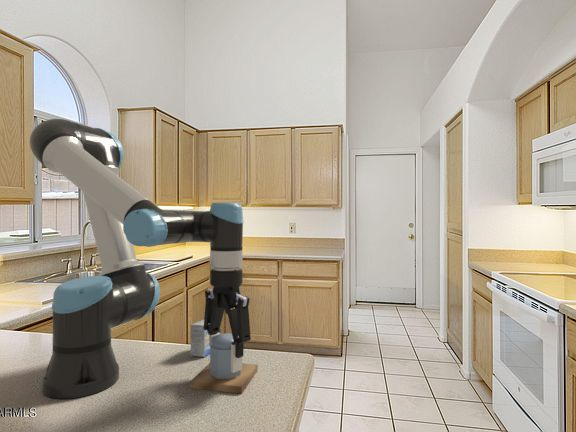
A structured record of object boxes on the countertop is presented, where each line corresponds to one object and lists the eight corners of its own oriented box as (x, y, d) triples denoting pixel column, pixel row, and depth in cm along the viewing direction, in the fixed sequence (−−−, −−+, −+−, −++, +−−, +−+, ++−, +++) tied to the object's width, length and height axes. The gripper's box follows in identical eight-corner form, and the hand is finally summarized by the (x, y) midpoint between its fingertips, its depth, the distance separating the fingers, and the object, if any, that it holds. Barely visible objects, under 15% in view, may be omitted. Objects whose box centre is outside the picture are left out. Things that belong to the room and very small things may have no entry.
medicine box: (204, 358, 99) (204, 325, 99) (190, 356, 100) (190, 324, 100) (219, 348, 106) (219, 318, 106) (205, 346, 108) (205, 316, 108)
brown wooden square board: (190, 388, 81) (190, 361, 81) (212, 366, 93) (212, 343, 93) (241, 393, 79) (242, 366, 79) (257, 370, 91) (257, 346, 91)
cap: (223, 381, 81) (223, 345, 81) (204, 372, 86) (205, 338, 86) (247, 372, 86) (247, 338, 86) (228, 363, 91) (228, 331, 91)
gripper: (267, 270, 82) (267, 373, 82) (213, 263, 95) (213, 351, 95) (242, 274, 77) (241, 384, 76) (188, 265, 90) (187, 359, 90)
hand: (225, 365), depth 86 cm, fingers closed on cap, 7 cm apart
